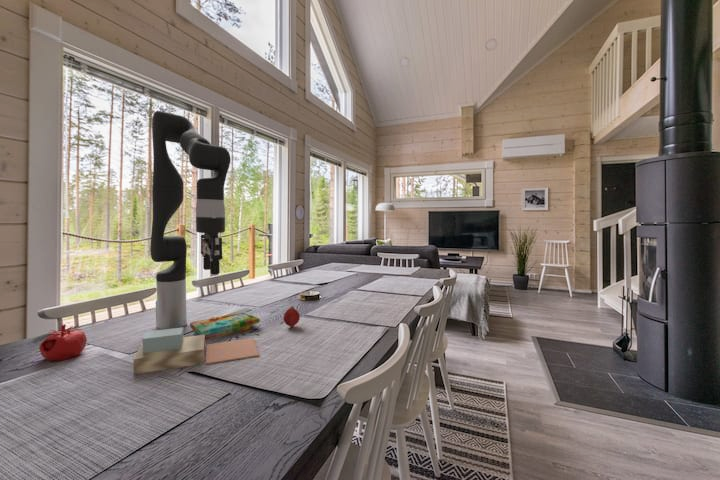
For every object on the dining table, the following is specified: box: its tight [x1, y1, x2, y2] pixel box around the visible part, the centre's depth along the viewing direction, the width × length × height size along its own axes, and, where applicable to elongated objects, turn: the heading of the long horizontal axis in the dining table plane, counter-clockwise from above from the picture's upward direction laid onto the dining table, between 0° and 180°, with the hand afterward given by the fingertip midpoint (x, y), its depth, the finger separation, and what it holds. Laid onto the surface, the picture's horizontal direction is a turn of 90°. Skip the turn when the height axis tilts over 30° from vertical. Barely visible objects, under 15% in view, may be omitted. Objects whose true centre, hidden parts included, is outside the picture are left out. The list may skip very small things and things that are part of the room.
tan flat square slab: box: [205, 337, 260, 366], centre depth 96 cm, size 14×14×1 cm
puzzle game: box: [189, 311, 261, 341], centre depth 112 cm, size 12×5×20 cm
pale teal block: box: [141, 326, 185, 354], centre depth 88 cm, size 9×6×4 cm, turn 115°
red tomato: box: [38, 324, 88, 362], centre depth 90 cm, size 10×10×9 cm
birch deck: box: [132, 335, 206, 375], centre depth 89 cm, size 16×12×4 cm
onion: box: [283, 305, 301, 328], centre depth 117 cm, size 6×6×8 cm
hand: (211, 271), depth 91 cm, fingers open, 8 cm apart
